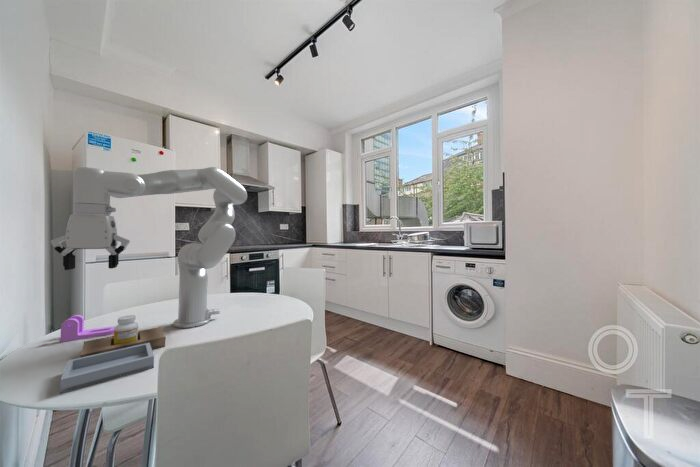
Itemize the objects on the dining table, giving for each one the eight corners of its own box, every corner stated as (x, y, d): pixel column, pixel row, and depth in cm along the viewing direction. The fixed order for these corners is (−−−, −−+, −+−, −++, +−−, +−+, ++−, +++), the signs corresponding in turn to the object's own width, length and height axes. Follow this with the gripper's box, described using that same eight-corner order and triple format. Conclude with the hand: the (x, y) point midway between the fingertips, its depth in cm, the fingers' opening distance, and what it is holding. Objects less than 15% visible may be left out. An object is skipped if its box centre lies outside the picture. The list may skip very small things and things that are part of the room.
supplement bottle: (118, 346, 76) (119, 315, 76) (140, 344, 78) (141, 313, 78) (109, 354, 71) (110, 320, 71) (133, 351, 73) (134, 318, 73)
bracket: (60, 342, 78) (61, 320, 78) (67, 336, 83) (68, 315, 83) (115, 334, 85) (116, 314, 85) (119, 329, 90) (120, 310, 90)
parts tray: (149, 352, 72) (149, 342, 73) (153, 367, 65) (153, 356, 65) (67, 372, 61) (67, 360, 61) (60, 393, 53) (60, 379, 54)
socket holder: (160, 335, 85) (160, 326, 85) (165, 346, 77) (165, 336, 77) (83, 351, 72) (84, 341, 72) (79, 366, 64) (80, 355, 64)
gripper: (134, 212, 79) (134, 265, 79) (61, 210, 73) (61, 268, 73) (123, 211, 72) (122, 269, 72) (41, 208, 66) (40, 272, 66)
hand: (91, 268), depth 72 cm, fingers open, 9 cm apart
